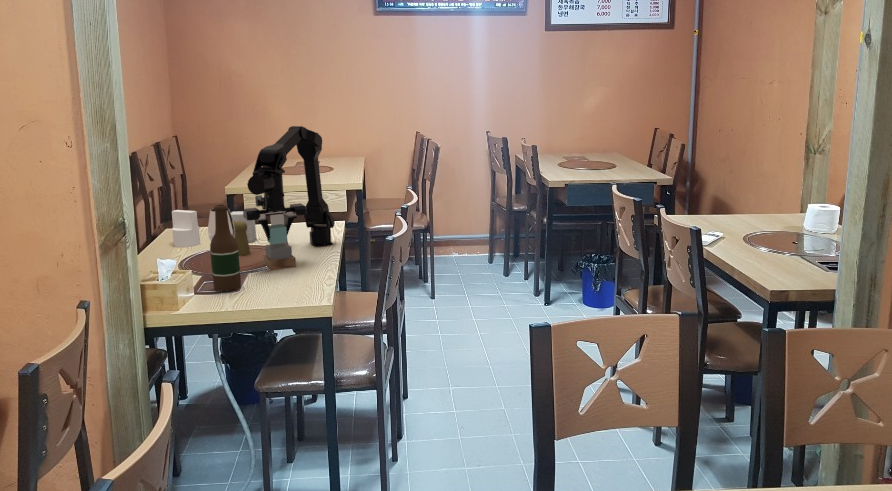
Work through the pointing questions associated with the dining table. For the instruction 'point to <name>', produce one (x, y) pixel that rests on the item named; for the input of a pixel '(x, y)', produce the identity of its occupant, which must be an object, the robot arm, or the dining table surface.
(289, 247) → the charcoal block
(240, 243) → the cork
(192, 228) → the white stepped block
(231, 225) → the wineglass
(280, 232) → the teal cube
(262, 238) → the dining table surface
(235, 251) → the beer bottle
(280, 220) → the french fries container
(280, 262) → the walnut slab
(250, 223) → the small box
